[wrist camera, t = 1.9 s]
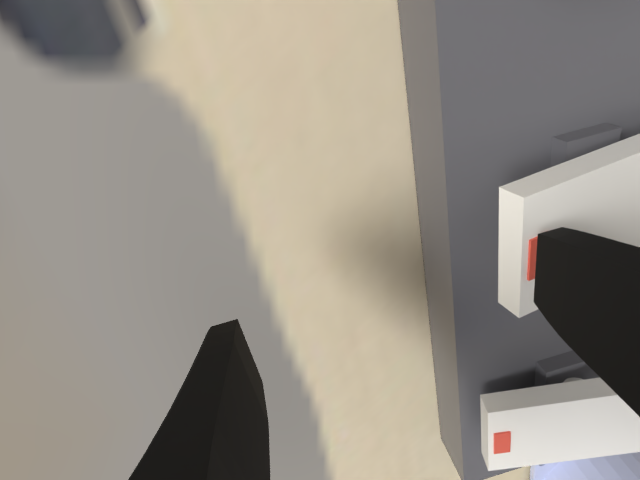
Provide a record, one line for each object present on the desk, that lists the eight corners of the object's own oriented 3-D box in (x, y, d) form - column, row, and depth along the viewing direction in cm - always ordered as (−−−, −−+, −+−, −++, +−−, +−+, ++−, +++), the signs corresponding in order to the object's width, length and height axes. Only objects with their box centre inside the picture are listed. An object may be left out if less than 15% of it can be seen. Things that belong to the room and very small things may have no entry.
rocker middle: (666, 215, 14) (711, 231, 13) (488, 294, 12) (521, 319, 11) (692, 105, 12) (746, 112, 11) (487, 182, 10) (526, 198, 9)
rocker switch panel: (654, 372, 22) (711, 421, 20) (441, 438, 22) (470, 498, 19) (915, -579, 9) (1230, -854, 6) (349, -481, 8) (411, -741, 5)
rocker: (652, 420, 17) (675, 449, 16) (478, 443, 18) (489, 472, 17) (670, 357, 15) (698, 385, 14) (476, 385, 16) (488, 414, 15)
